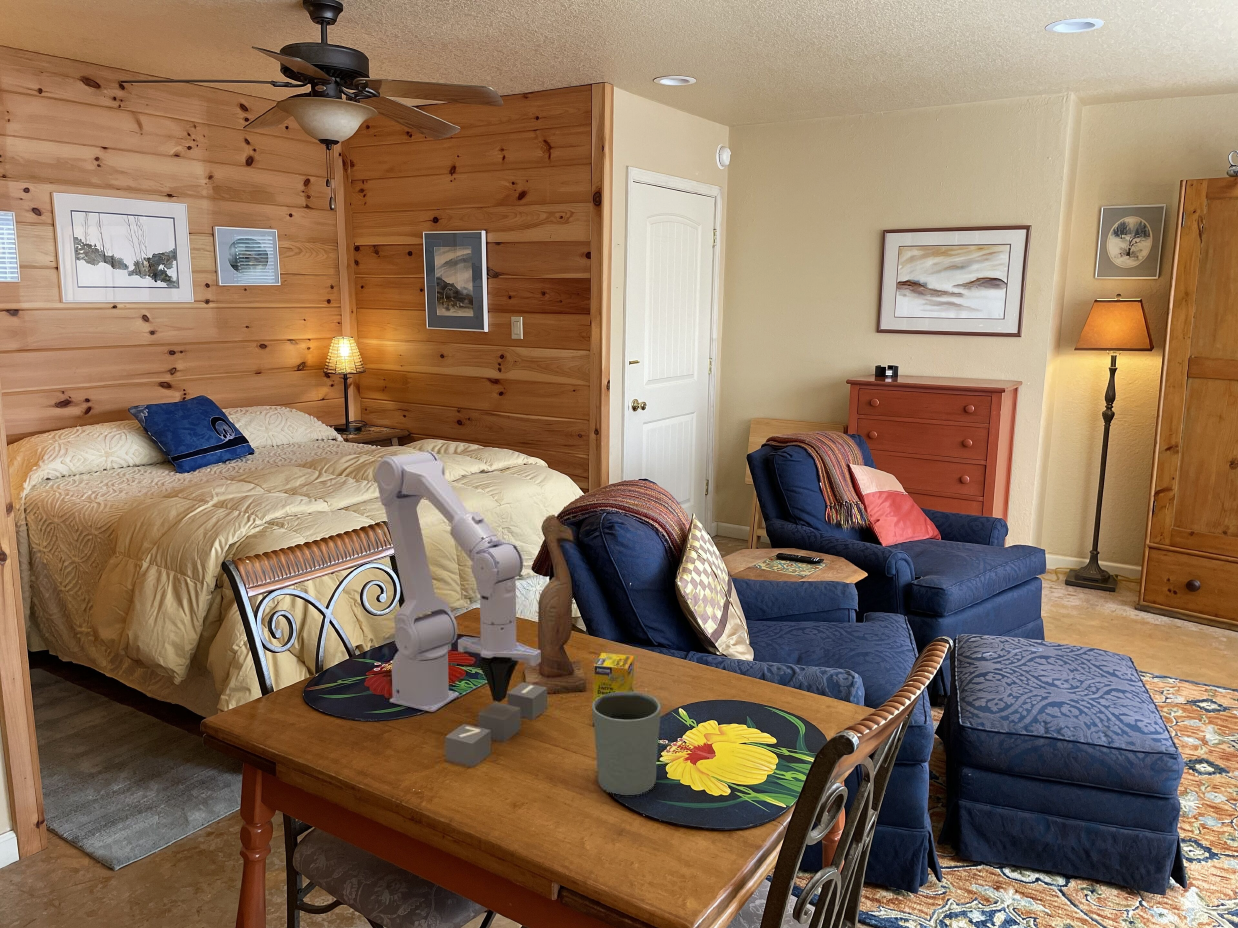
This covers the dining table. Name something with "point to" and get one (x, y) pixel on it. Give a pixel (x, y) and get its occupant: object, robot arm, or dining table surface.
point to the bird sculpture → (556, 621)
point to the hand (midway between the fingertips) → (499, 698)
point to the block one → (528, 699)
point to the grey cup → (626, 741)
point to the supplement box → (612, 674)
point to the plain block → (500, 720)
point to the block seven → (468, 745)
